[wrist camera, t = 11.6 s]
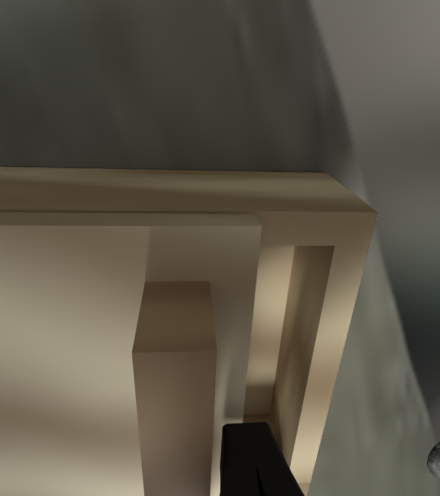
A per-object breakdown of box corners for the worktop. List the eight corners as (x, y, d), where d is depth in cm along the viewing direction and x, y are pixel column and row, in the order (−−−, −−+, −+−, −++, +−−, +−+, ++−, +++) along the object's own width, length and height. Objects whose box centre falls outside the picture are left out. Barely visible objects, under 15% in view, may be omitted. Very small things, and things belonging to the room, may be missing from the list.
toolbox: (284, 416, 19) (306, 496, 16) (-180, 437, 17) (-275, 535, 14) (326, 172, 13) (377, 212, 10) (-368, 159, 11) (-621, 204, 8)
